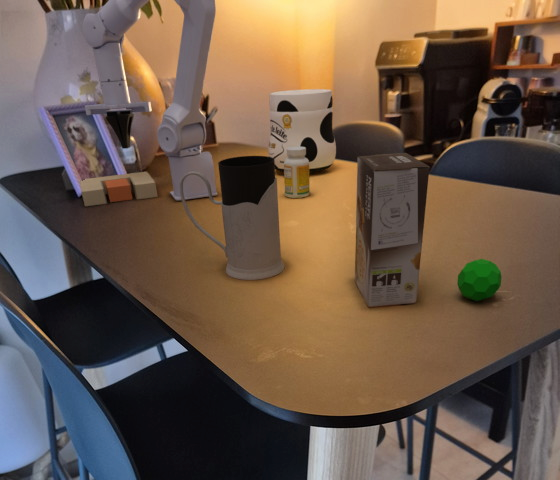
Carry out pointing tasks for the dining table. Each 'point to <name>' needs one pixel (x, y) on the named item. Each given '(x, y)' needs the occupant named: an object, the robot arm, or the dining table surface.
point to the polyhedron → (479, 280)
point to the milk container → (302, 126)
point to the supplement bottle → (296, 173)
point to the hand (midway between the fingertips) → (126, 147)
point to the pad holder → (96, 187)
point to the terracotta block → (118, 190)
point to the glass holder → (247, 216)
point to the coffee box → (389, 227)
